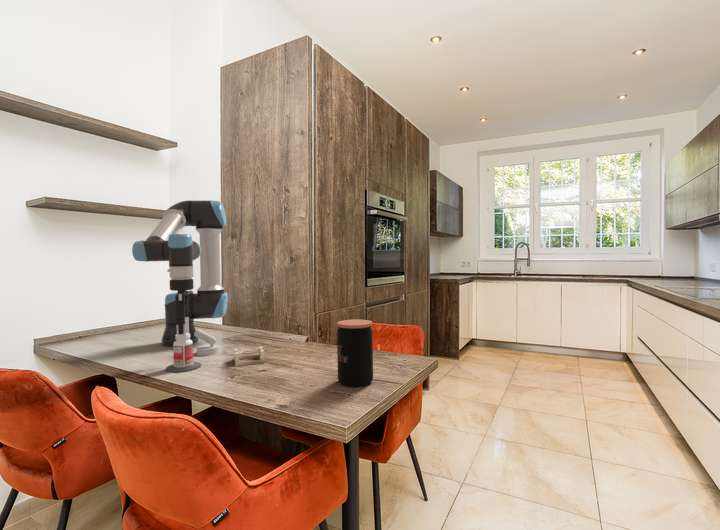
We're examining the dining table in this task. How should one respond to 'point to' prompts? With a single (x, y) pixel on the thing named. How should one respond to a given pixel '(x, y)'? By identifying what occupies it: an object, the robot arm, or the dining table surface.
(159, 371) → the dining table surface
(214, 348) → the wall hook
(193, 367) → the coaster
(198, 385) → the dining table surface
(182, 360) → the pill bottle
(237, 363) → the cradle
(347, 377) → the coffee jar
